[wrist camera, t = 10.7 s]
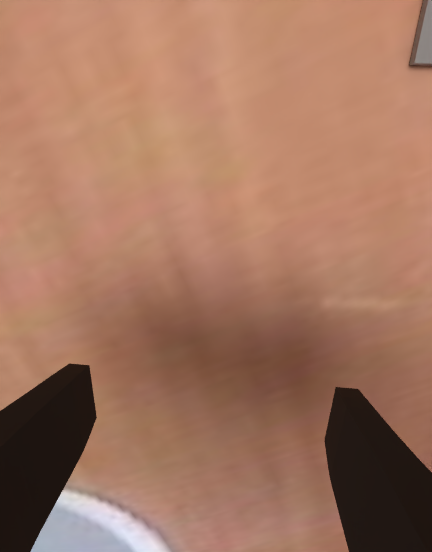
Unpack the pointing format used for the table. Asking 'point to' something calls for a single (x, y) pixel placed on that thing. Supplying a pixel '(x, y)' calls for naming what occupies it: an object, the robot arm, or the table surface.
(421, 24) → the pocket board
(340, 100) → the table surface
